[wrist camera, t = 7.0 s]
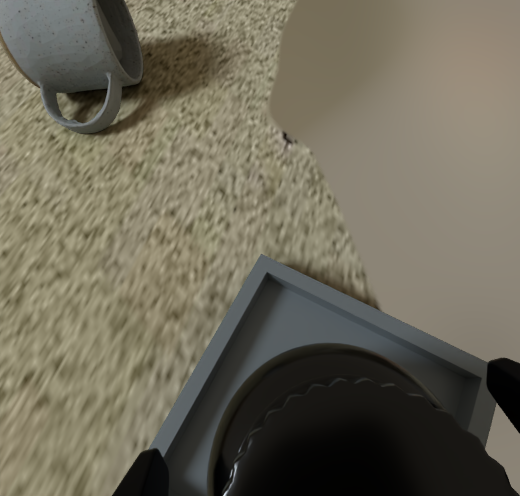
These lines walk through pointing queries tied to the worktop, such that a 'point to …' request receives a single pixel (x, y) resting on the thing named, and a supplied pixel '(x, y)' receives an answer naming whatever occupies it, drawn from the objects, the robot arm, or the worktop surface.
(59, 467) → the worktop surface
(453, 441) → the supplement bottle
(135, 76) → the ceramic mug
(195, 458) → the tray
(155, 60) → the worktop surface
